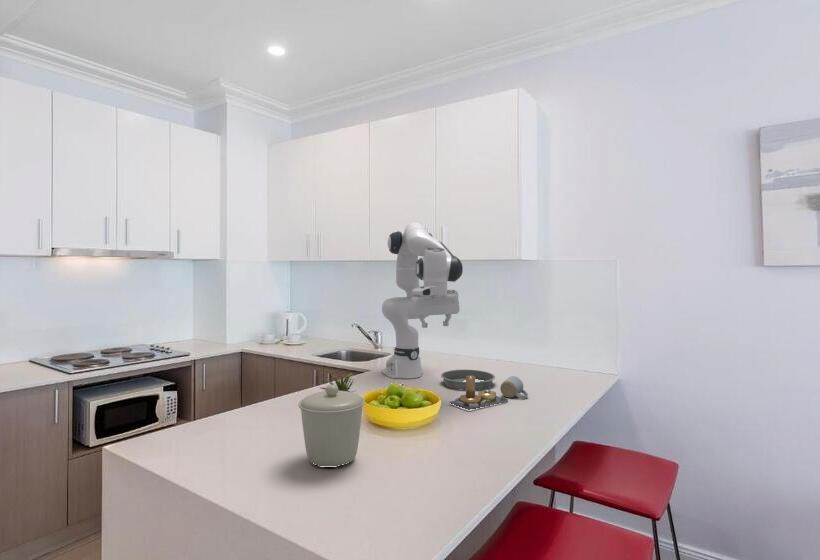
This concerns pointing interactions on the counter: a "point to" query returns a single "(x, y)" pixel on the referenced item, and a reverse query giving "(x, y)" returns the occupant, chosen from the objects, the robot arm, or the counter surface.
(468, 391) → the brass joystick knob
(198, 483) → the counter surface
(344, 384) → the house plant
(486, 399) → the carrier plate
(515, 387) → the ceramic mug
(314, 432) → the canister
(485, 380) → the cake pan
